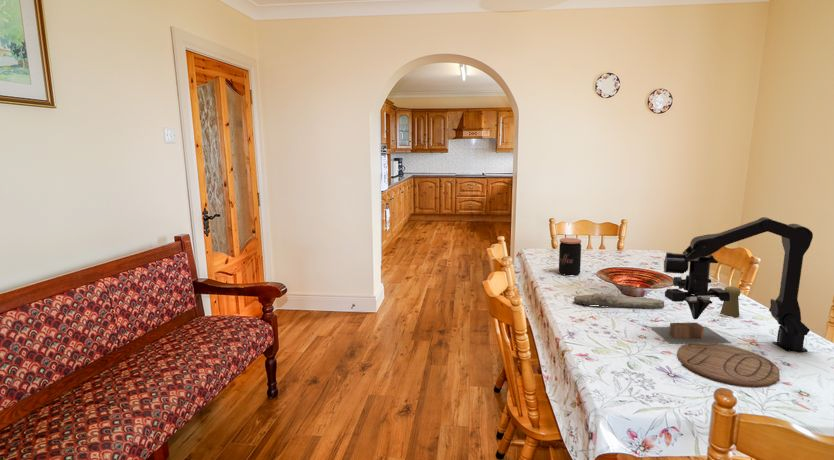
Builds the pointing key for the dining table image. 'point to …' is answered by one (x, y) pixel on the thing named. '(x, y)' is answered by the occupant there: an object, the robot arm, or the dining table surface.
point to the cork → (731, 303)
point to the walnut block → (686, 330)
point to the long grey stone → (618, 301)
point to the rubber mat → (708, 337)
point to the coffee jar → (570, 256)
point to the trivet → (728, 364)
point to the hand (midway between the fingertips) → (695, 318)
